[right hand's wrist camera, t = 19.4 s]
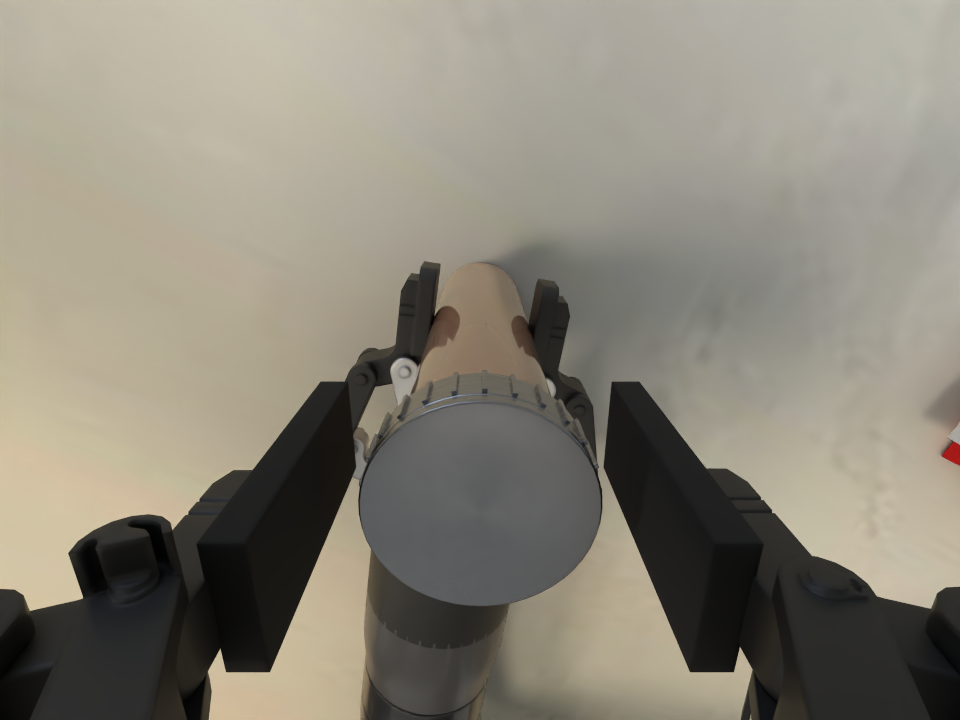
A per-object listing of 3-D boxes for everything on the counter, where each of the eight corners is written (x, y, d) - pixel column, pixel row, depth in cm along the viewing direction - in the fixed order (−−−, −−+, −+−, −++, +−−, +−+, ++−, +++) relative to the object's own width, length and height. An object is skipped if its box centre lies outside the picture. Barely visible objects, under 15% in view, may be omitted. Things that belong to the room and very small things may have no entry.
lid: (636, 467, 12) (658, 508, 11) (483, 593, 13) (483, 645, 12) (476, 321, 11) (475, 343, 9) (324, 475, 12) (303, 517, 11)
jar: (456, 251, 28) (418, 374, 11) (530, 278, 28) (607, 438, 11) (431, 323, 29) (362, 535, 12) (502, 348, 29) (532, 585, 12)
